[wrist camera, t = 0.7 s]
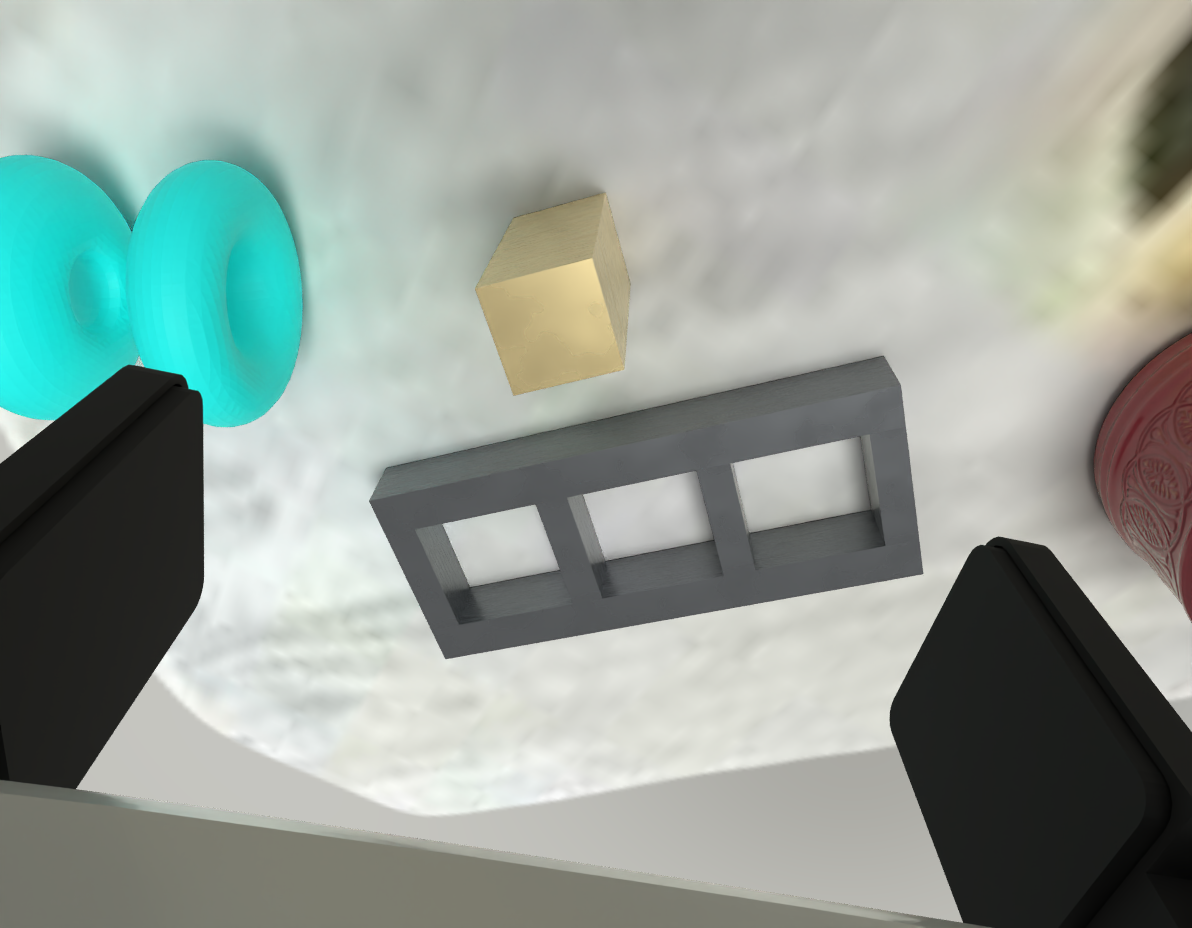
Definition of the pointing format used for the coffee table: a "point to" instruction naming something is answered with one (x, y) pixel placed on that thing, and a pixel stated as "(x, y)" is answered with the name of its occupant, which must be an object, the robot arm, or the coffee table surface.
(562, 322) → the brass peg
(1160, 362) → the canister
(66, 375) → the donuts
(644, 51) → the coffee table surface
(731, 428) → the grey flat slotted block
